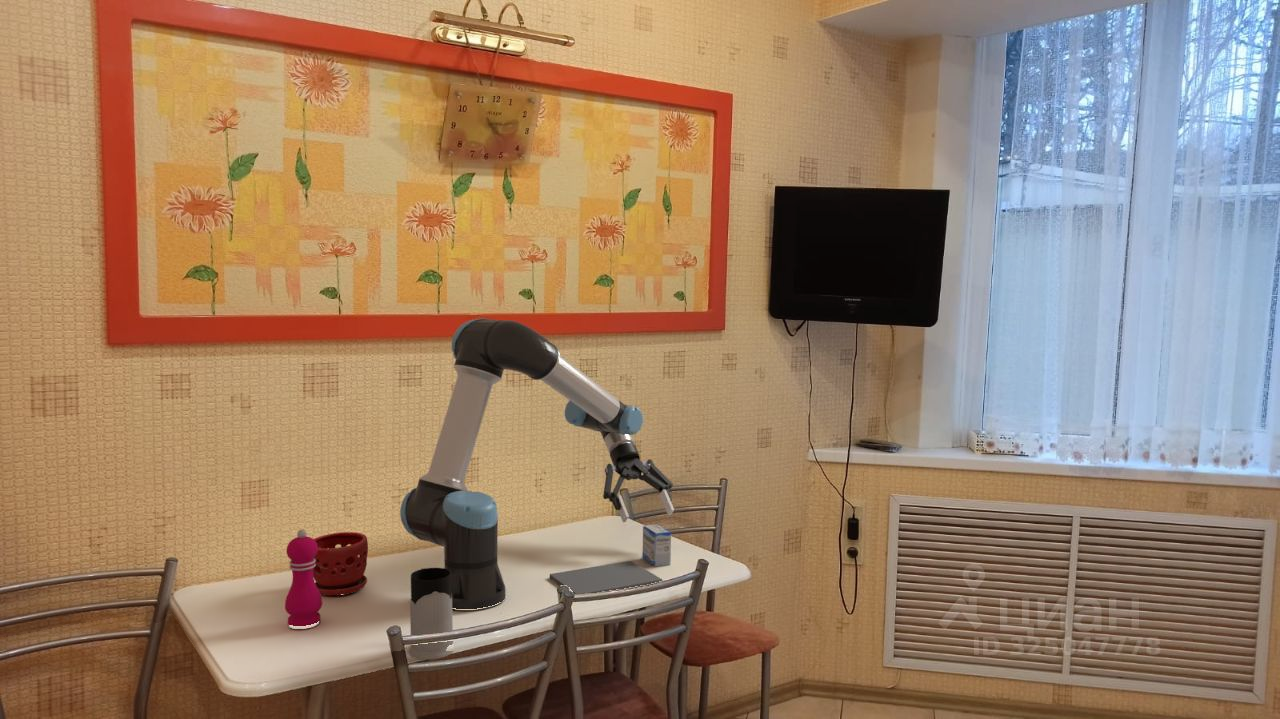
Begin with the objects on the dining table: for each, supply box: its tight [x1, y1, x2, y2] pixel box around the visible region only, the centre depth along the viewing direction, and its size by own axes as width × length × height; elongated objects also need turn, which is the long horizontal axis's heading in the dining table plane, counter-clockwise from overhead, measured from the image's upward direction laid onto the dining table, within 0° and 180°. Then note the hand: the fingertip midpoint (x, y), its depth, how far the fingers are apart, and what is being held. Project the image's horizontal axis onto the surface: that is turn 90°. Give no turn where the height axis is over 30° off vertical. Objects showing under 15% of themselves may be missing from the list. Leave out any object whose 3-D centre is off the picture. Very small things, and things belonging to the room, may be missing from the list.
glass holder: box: [408, 567, 455, 660], centre depth 171 cm, size 9×14×15 cm, turn 24°
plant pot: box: [313, 531, 369, 596], centre depth 201 cm, size 13×13×12 cm
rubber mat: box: [549, 560, 663, 594], centre depth 209 cm, size 22×16×1 cm
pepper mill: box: [284, 529, 323, 626], centre depth 180 cm, size 7×7×20 cm
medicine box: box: [641, 524, 672, 568], centre depth 223 cm, size 8×4×9 cm, turn 25°
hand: (649, 516), depth 228 cm, fingers open, 13 cm apart
